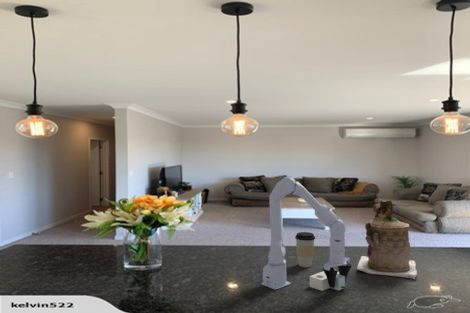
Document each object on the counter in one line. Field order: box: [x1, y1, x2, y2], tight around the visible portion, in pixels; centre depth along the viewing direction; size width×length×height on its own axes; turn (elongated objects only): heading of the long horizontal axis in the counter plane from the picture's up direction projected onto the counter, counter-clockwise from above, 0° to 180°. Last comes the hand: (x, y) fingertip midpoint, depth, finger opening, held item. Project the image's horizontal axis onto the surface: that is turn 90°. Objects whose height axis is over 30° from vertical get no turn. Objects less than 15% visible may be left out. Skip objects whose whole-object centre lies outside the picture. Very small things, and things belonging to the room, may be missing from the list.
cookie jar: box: [356, 199, 418, 280], centre depth 168 cm, size 25×25×32 cm
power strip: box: [309, 268, 339, 292], centre depth 150 cm, size 6×18×5 cm, turn 131°
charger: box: [329, 274, 350, 292], centre depth 144 cm, size 9×4×5 cm, turn 41°
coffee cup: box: [294, 231, 316, 268], centre depth 173 cm, size 9×9×15 cm
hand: (337, 284), depth 144 cm, fingers open, 7 cm apart
